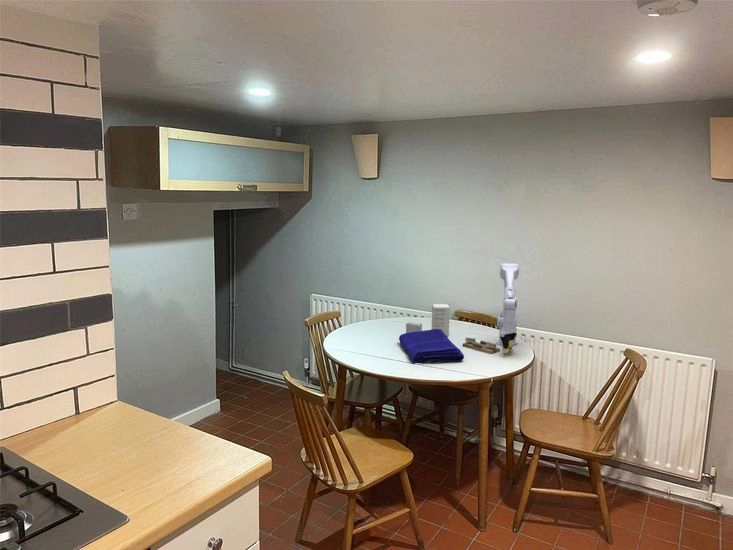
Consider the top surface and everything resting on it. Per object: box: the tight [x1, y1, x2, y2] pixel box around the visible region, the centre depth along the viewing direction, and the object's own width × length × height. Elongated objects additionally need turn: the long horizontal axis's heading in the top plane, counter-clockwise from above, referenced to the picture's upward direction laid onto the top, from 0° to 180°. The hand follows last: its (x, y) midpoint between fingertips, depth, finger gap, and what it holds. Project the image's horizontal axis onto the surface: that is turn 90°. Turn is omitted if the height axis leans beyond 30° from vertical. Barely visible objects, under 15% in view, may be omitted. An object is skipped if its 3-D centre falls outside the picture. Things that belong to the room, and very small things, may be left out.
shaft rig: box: [462, 336, 501, 355], centre depth 283 cm, size 8×18×4 cm, turn 43°
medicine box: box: [405, 321, 423, 333], centre depth 300 cm, size 8×4×9 cm, turn 59°
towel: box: [398, 329, 465, 364], centre depth 276 cm, size 26×36×9 cm
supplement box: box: [431, 303, 451, 337], centre depth 309 cm, size 10×9×17 cm
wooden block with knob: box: [501, 339, 514, 354], centre depth 275 cm, size 4×4×6 cm
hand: (507, 347), depth 275 cm, fingers closed on wooden block with knob, 4 cm apart
